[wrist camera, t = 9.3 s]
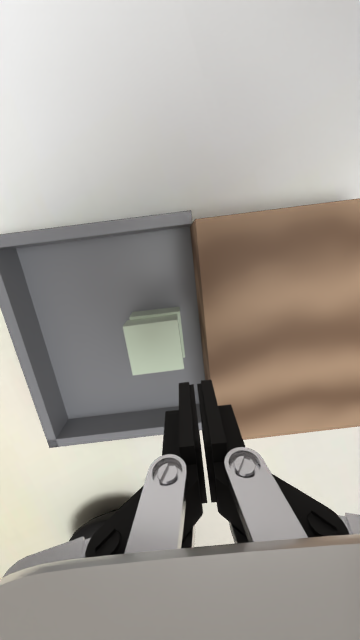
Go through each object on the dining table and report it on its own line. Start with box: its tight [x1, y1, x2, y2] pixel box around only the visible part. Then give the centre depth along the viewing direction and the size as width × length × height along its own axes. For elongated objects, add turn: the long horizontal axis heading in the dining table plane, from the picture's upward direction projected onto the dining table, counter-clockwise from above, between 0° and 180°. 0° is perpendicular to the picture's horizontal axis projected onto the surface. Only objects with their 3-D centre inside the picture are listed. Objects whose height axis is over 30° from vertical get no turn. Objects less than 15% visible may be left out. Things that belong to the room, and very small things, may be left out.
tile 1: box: [123, 314, 184, 375], centre depth 23 cm, size 5×5×2 cm
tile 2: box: [129, 307, 185, 358], centre depth 25 cm, size 5×5×2 cm
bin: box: [0, 211, 205, 448], centre depth 25 cm, size 22×18×4 cm
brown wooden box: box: [190, 199, 360, 440], centre depth 23 cm, size 20×16×7 cm
